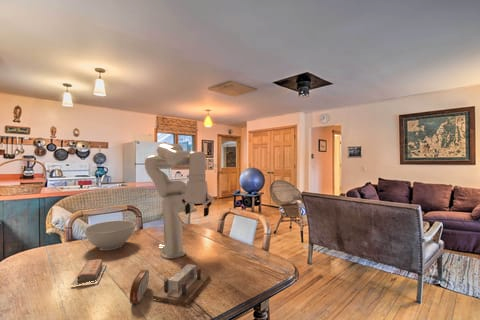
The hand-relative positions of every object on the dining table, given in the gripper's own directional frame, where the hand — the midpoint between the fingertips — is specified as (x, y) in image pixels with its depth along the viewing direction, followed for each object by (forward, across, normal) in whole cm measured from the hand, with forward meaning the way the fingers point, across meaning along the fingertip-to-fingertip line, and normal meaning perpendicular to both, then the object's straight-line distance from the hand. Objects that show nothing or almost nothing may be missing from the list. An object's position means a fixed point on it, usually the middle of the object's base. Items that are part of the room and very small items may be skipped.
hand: (196, 214), depth 115 cm
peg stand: (+25, +4, -18) cm, 31 cm away
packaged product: (+27, -40, -22) cm, 54 cm away
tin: (+26, -8, -28) cm, 38 cm away
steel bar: (+23, +4, -18) cm, 30 cm away
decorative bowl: (+28, -62, +8) cm, 68 cm away
